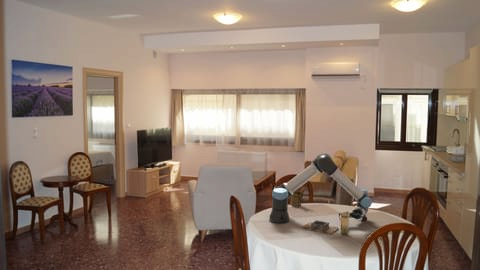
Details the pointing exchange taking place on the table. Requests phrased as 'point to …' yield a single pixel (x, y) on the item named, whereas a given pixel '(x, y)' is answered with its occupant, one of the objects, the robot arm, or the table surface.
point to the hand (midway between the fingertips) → (349, 220)
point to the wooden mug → (297, 197)
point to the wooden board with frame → (320, 227)
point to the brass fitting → (344, 223)
